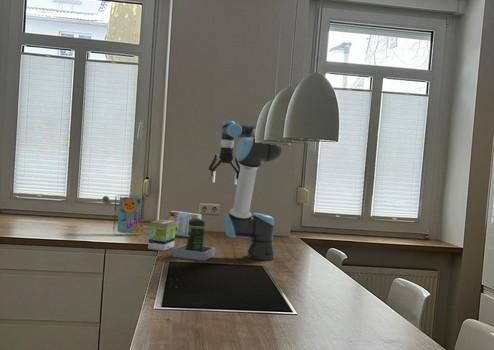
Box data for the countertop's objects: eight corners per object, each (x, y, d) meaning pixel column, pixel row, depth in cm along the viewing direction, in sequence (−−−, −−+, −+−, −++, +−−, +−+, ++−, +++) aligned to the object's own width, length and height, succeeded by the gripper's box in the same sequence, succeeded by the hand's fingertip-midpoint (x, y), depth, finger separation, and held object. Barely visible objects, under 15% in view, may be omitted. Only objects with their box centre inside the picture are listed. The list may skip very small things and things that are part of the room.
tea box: (165, 251, 273) (167, 223, 272) (147, 249, 275) (149, 221, 274) (174, 246, 287) (176, 220, 287) (157, 244, 289) (159, 218, 289)
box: (100, 235, 305) (103, 194, 304) (99, 234, 311) (101, 193, 310) (142, 236, 315) (145, 196, 314) (140, 234, 320) (143, 195, 320)
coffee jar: (204, 255, 262) (206, 219, 262) (188, 255, 260) (191, 219, 259) (199, 252, 272) (202, 217, 271) (185, 252, 269) (187, 216, 268)
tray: (215, 255, 272) (215, 247, 272) (204, 260, 255) (204, 252, 255) (185, 251, 276) (185, 244, 276) (172, 256, 259) (173, 248, 259)
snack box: (200, 237, 327) (202, 214, 327) (195, 238, 322) (197, 214, 322) (172, 233, 336) (173, 210, 335) (167, 234, 331) (169, 210, 330)
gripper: (249, 149, 303) (246, 184, 303) (209, 146, 309) (206, 181, 310) (245, 148, 295) (243, 185, 296) (205, 145, 302) (202, 181, 302)
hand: (224, 183), depth 303 cm, fingers open, 13 cm apart
